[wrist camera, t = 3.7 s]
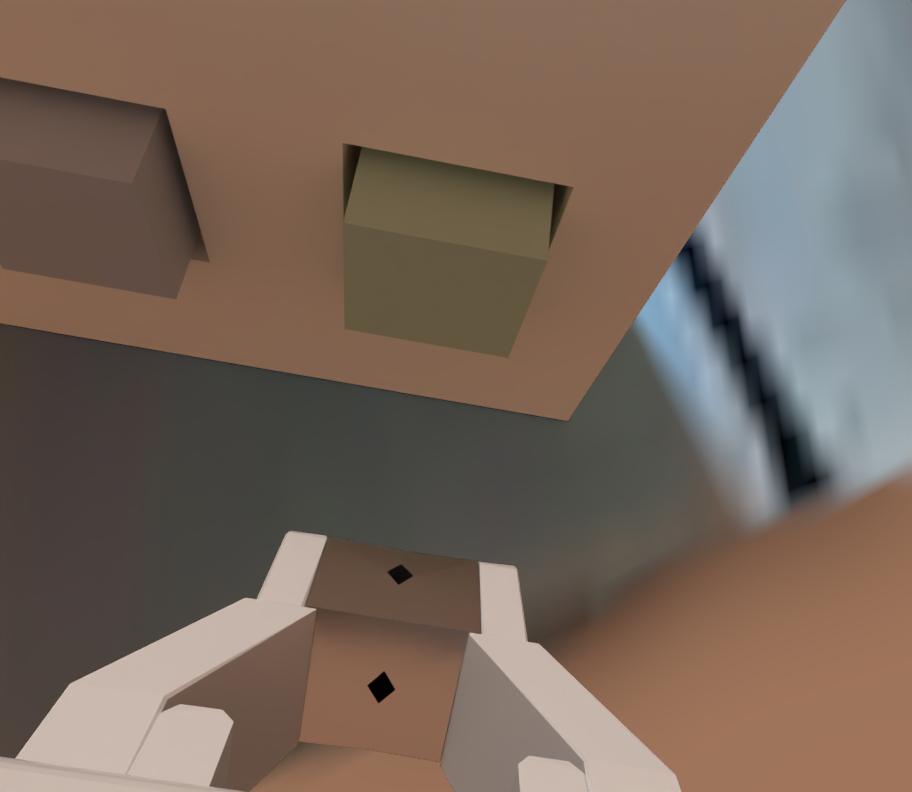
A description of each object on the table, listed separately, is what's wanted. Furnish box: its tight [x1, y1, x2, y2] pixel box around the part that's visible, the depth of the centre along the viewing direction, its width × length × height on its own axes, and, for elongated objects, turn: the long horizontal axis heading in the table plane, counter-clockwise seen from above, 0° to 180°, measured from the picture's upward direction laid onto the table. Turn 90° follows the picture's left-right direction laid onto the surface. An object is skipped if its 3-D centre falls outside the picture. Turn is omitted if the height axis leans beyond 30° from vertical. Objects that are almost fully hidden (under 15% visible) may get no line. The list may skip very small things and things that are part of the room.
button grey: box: [0, 77, 201, 299], centre depth 16 cm, size 4×2×4 cm, turn 83°
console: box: [0, 0, 846, 421], centre depth 17 cm, size 26×8×18 cm, turn 83°
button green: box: [343, 147, 554, 358], centre depth 17 cm, size 4×2×4 cm, turn 83°
